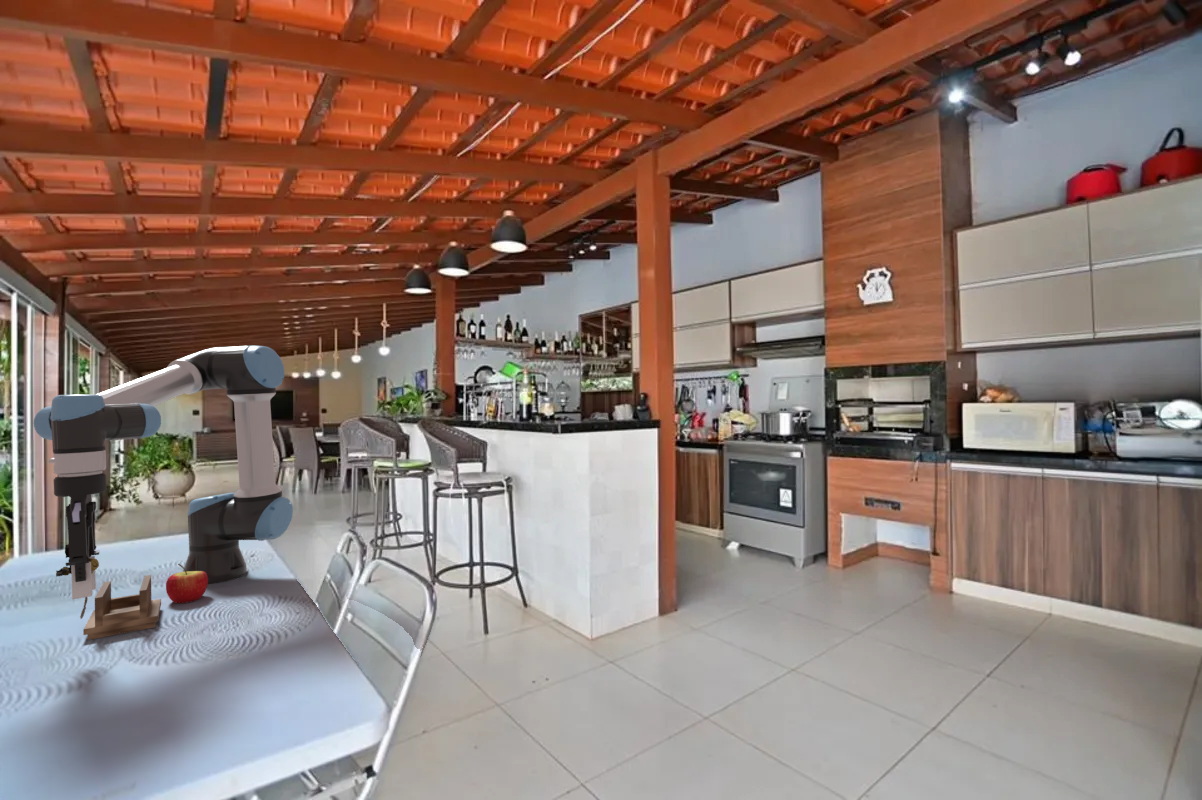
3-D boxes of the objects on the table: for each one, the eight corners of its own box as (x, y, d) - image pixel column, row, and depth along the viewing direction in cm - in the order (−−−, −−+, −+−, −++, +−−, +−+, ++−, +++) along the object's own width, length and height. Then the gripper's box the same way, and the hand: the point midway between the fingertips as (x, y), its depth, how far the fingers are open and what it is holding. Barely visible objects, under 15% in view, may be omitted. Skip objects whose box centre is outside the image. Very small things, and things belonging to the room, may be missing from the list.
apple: (162, 603, 140) (162, 563, 140) (203, 594, 146) (203, 555, 147) (169, 611, 135) (169, 569, 135) (212, 601, 141) (211, 561, 141)
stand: (161, 611, 134) (160, 573, 134) (157, 629, 123) (157, 588, 123) (93, 623, 127) (93, 583, 128) (83, 644, 116) (83, 600, 116)
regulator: (106, 613, 111) (102, 536, 112) (90, 619, 107) (85, 540, 108) (66, 618, 111) (62, 541, 111) (48, 624, 107) (44, 545, 108)
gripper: (62, 471, 115) (66, 586, 115) (43, 480, 100) (48, 611, 101) (111, 468, 119) (115, 578, 119) (99, 476, 105) (103, 601, 105)
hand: (84, 593), depth 110 cm, fingers closed on regulator, 4 cm apart
